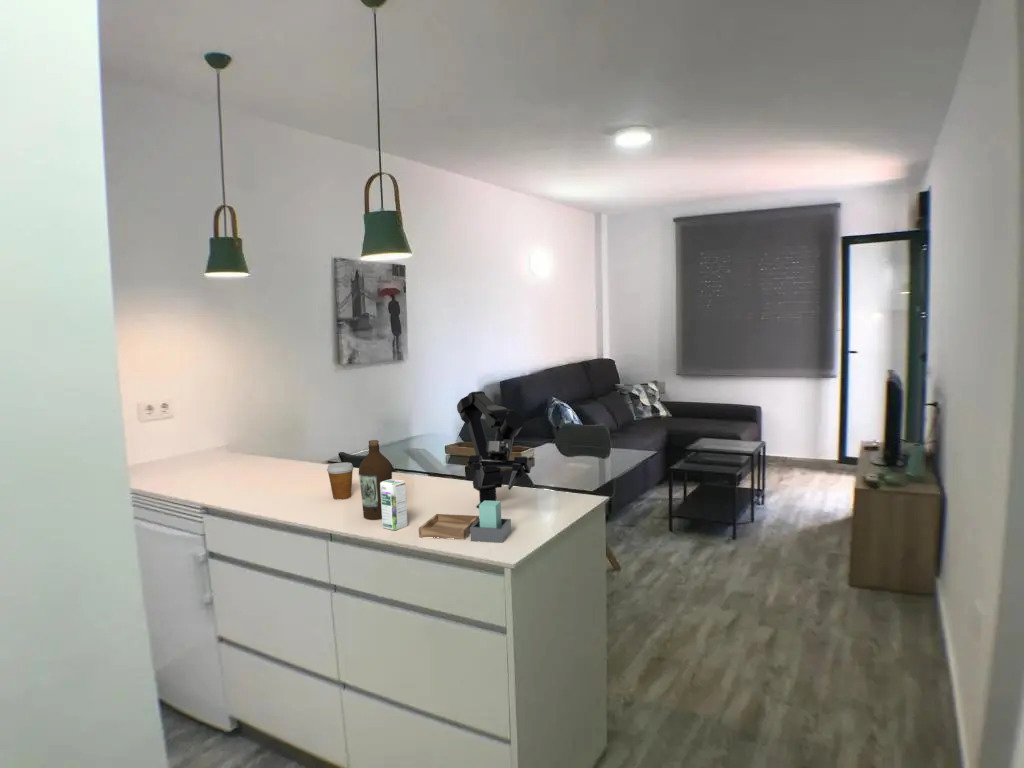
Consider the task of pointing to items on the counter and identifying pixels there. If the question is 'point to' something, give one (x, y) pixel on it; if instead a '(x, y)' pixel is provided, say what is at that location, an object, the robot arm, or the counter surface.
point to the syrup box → (393, 504)
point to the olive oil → (373, 480)
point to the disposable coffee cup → (340, 479)
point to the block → (490, 514)
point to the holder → (490, 532)
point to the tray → (448, 526)
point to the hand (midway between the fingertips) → (494, 488)
